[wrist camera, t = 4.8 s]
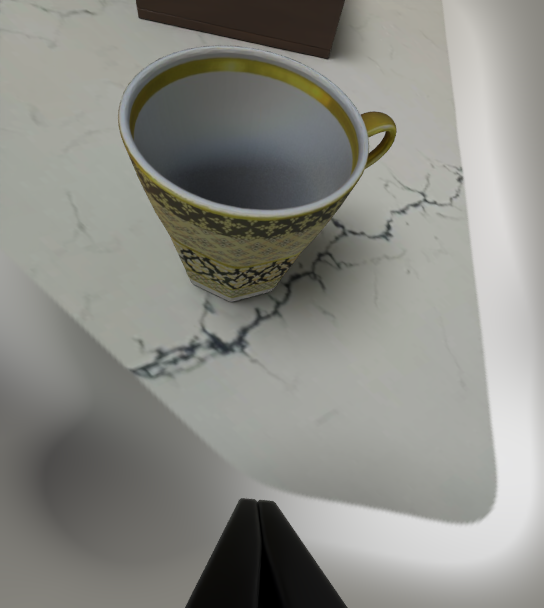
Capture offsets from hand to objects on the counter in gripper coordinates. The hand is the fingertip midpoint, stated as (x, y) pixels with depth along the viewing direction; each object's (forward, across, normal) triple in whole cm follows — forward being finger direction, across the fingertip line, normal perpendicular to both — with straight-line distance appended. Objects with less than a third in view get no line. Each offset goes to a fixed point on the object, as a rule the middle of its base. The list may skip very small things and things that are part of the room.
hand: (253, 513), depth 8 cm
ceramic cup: (+17, 0, +3) cm, 17 cm away
